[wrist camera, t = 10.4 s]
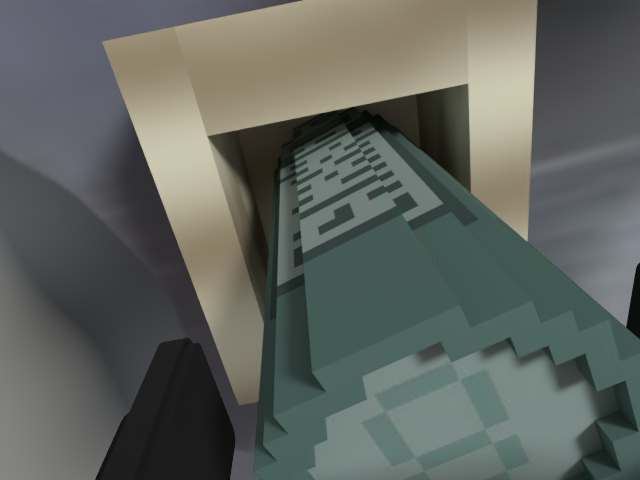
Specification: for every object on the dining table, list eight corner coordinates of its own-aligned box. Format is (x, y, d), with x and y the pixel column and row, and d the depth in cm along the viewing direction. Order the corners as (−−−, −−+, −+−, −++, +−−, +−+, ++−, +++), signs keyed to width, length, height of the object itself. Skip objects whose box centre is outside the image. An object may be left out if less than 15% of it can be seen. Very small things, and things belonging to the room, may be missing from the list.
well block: (461, 268, 24) (522, 350, 18) (250, 310, 24) (238, 405, 18) (450, -21, 17) (539, -49, 11) (165, 38, 18) (102, 41, 12)
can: (316, 254, 22) (368, 616, 8) (253, 151, 19) (179, 433, 6) (426, 199, 21) (683, 505, 7) (375, 83, 18) (625, 229, 5)
